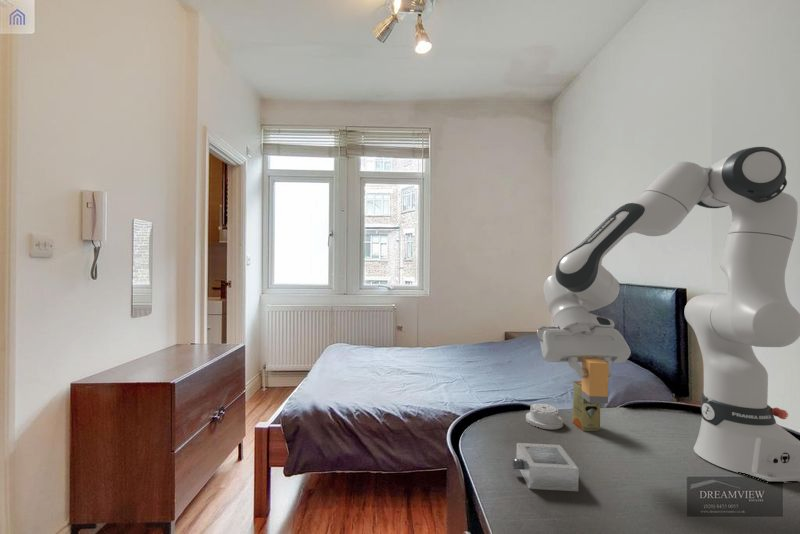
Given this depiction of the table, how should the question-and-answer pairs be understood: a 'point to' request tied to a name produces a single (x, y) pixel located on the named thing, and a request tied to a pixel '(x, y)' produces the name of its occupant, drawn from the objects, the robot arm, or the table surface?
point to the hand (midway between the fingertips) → (596, 377)
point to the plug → (595, 381)
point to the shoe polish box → (584, 410)
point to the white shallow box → (546, 467)
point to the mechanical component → (544, 416)
